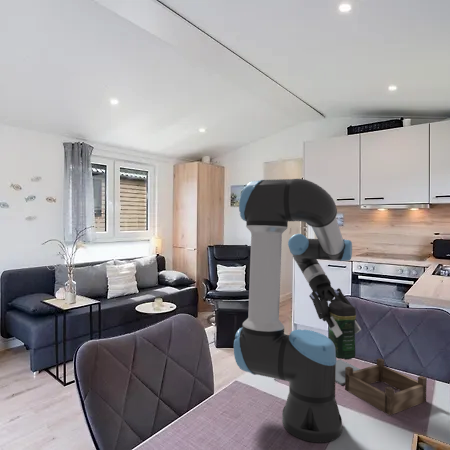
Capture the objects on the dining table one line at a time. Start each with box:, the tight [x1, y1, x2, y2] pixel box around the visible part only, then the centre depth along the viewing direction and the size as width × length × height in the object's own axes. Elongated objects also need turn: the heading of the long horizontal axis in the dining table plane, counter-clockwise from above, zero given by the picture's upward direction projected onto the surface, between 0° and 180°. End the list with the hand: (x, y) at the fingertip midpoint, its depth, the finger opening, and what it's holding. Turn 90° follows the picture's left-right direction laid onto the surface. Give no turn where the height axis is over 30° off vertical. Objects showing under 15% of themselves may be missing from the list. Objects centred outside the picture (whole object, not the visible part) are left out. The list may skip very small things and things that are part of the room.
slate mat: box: [335, 359, 361, 386], centre depth 121 cm, size 14×14×1 cm
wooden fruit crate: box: [344, 357, 428, 416], centre depth 105 cm, size 16×16×7 cm
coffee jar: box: [327, 301, 357, 361], centre depth 121 cm, size 10×8×19 cm
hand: (349, 333), depth 118 cm, fingers closed on coffee jar, 8 cm apart
